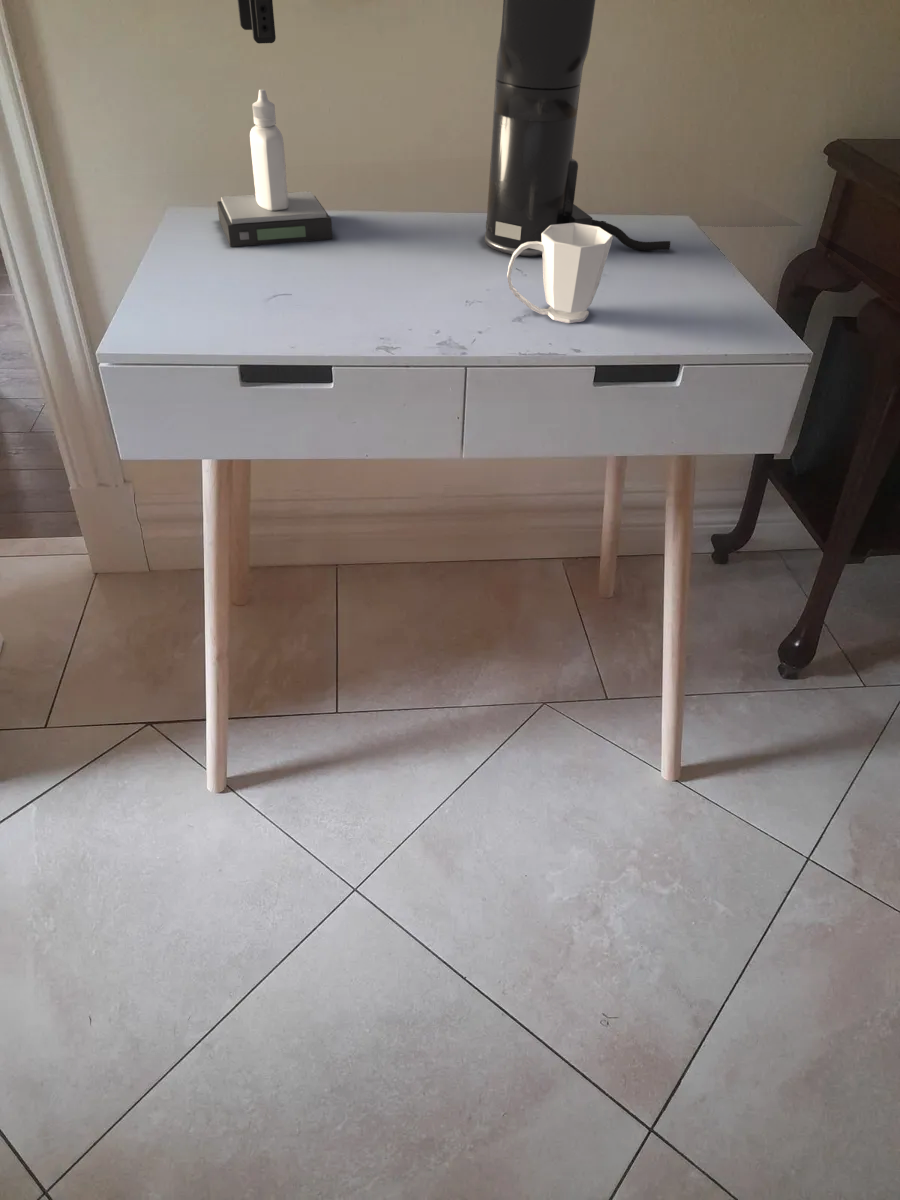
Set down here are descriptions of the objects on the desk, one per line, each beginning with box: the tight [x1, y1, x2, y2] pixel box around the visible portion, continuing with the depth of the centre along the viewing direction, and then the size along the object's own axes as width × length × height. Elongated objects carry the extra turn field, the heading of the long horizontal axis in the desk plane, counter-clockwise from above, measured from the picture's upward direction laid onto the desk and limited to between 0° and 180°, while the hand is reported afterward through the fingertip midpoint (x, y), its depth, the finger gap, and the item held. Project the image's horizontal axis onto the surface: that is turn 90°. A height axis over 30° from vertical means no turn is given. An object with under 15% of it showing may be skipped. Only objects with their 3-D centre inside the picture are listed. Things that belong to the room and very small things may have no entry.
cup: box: [506, 223, 614, 324], centre depth 89 cm, size 7×10×8 cm
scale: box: [216, 190, 333, 248], centre depth 106 cm, size 12×9×3 cm
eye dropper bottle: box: [249, 88, 289, 211], centre depth 101 cm, size 4×6×12 cm
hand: (257, 35), depth 94 cm, fingers open, 8 cm apart
